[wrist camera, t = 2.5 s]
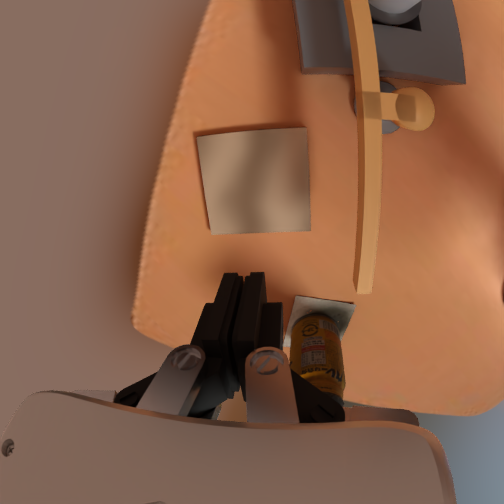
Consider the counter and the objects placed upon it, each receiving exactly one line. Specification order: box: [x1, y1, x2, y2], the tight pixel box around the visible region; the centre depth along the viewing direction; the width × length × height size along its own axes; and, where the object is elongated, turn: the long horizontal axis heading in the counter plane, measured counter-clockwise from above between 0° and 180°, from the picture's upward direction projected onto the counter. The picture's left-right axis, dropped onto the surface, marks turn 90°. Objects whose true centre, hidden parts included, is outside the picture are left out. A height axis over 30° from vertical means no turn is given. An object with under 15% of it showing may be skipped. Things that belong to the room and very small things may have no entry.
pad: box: [197, 127, 311, 235], centre depth 27 cm, size 10×10×1 cm
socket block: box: [292, 0, 466, 134], centre depth 16 cm, size 14×20×6 cm
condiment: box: [283, 296, 356, 407], centre depth 29 cm, size 7×8×12 cm
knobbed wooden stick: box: [344, 0, 435, 294], centre depth 16 cm, size 5×26×2 cm, turn 6°
